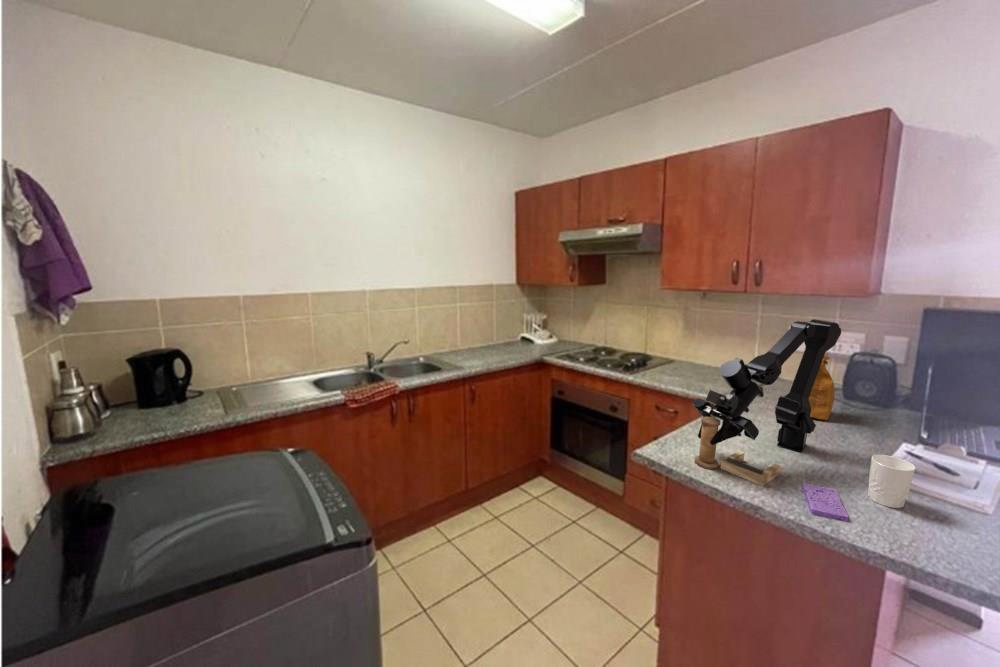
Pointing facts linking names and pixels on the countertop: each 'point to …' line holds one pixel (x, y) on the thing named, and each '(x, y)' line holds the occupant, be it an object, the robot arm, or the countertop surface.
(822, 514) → the sponges
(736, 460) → the wooden tray
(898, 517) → the countertop surface
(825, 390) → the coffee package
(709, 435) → the bobbin
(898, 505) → the white cup
